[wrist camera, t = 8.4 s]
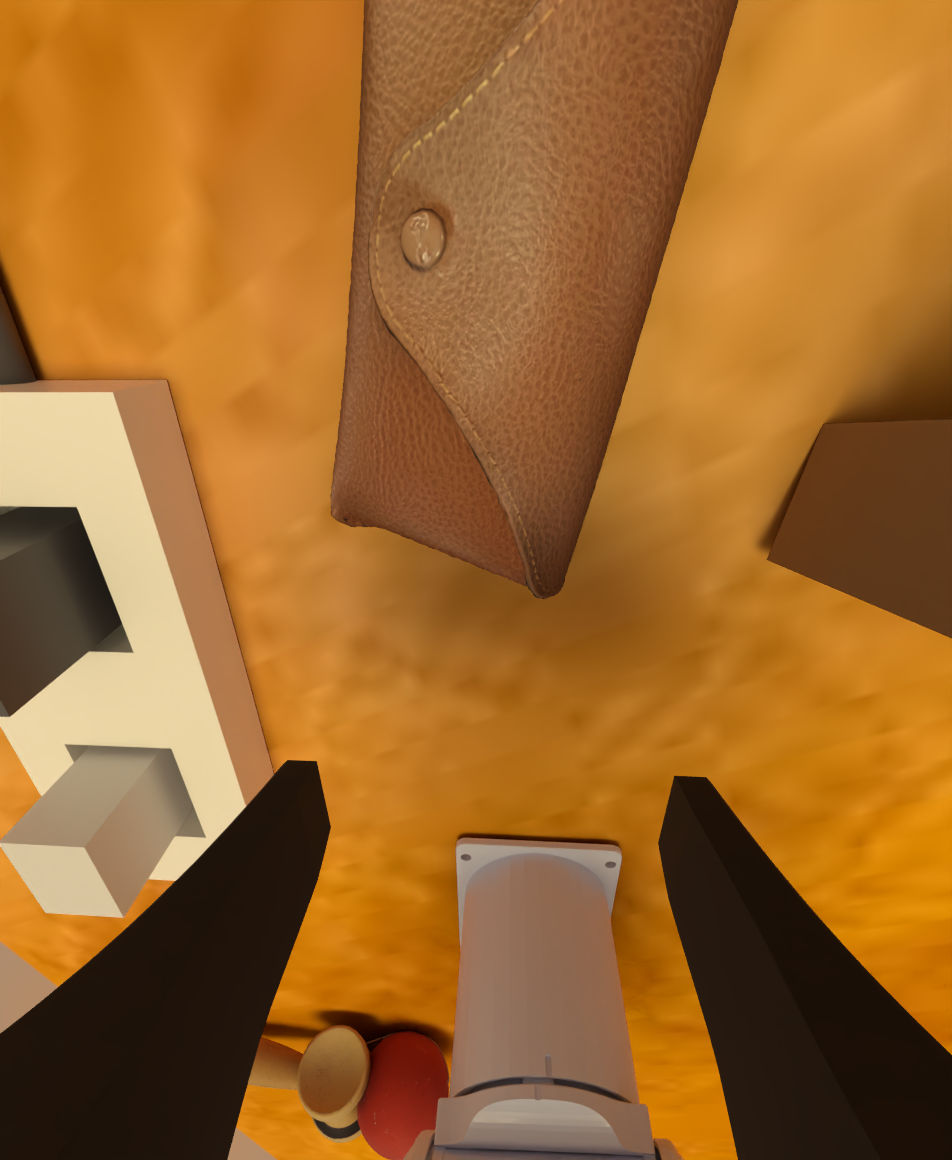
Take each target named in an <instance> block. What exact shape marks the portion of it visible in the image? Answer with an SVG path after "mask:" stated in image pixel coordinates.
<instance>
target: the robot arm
mask: <svg viewBox="0 0 952 1160" xmlns="http://www.w3.org/2000/svg"><path fill="white" fill-rule="evenodd" d="M330 828H331V826H330V821H329V817H328V812H327V807H326V803H325V798H324V793H323V789H322V784H321V779H320V775H319V770H318V765H317V761H295V760H287V761H286V762H285V763H284V764H283V765H282V766H281V767H280V768H279V770H278V771H277V772H276V773H275V774H274V775H273V776H272V778H271V779H270V780H269V781H268V782H267V783H266V784H265V786H264V787H263V788H262V789H261V790H260V791H259V792H258V794H257V795H256V796H255V797H254V798H253V799H252V800H251V801H250V803H249V804H248V805H247V806H246V807H245V808H244V809H243V810H242V811H241V813H240V814H239V815H238V816H237V817H236V818H235V819H234V820H233V821H232V823H231V824H230V825H229V826H228V827H227V828H226V829H225V830H224V831H223V832H222V833H221V834H220V835H219V837H218V838H217V839H216V840H215V841H214V842H213V843H212V844H211V845H210V846H209V847H208V848H207V849H206V850H205V852H204V853H203V854H202V855H201V856H200V857H199V858H198V859H197V860H196V861H195V862H194V863H193V864H192V865H191V866H190V867H189V868H188V869H187V870H186V871H185V872H184V873H183V874H182V875H181V876H180V877H179V878H178V879H177V880H176V881H175V882H174V883H173V884H172V885H171V886H170V887H169V888H168V889H167V890H166V891H165V892H164V893H163V894H162V895H161V896H160V897H159V898H158V899H157V900H156V901H155V902H154V903H153V904H152V905H151V906H150V907H149V908H148V909H146V910H145V911H144V912H143V913H142V914H141V915H140V916H139V917H138V918H137V919H136V920H135V921H134V922H133V923H132V924H130V925H129V926H128V927H127V928H126V929H125V930H124V931H123V932H122V933H121V934H119V935H118V936H117V937H116V938H115V939H114V940H113V941H112V942H110V943H109V944H108V945H107V946H106V947H105V948H104V949H103V950H101V951H100V952H99V953H98V954H97V955H96V956H95V957H94V958H92V959H91V960H90V961H89V962H88V963H87V964H85V965H84V966H83V967H82V968H81V969H79V970H78V971H77V972H76V973H75V974H73V975H72V976H71V977H70V978H69V979H67V980H66V981H65V982H64V983H63V984H61V985H60V986H59V987H58V988H57V989H55V990H54V991H53V992H52V993H51V994H49V996H47V997H46V998H45V999H44V1000H42V1001H41V1002H40V1003H39V1004H37V1005H36V1006H35V1007H34V1008H32V1009H31V1010H30V1011H29V1012H27V1013H26V1014H25V1015H24V1016H22V1017H21V1018H20V1019H18V1020H17V1021H16V1022H15V1023H13V1024H12V1025H11V1026H10V1027H8V1028H7V1029H6V1030H4V1031H3V1032H2V1033H0V1160H227V1158H228V1155H229V1151H230V1147H231V1143H232V1139H233V1136H234V1132H235V1128H236V1125H237V1121H238V1117H239V1113H240V1110H241V1106H242V1102H243V1099H244V1095H245V1092H246V1088H247V1085H248V1081H249V1078H250V1074H251V1071H252V1067H253V1063H254V1060H255V1056H256V1053H257V1049H258V1046H259V1042H260V1039H261V1035H262V1032H263V1029H264V1026H265V1023H266V1020H267V1017H268V1014H269V1011H270V1008H271V1005H272V1003H273V1000H274V997H275V995H276V992H277V989H278V987H279V984H280V981H281V978H282V976H283V973H284V970H285V968H286V965H287V962H288V960H289V957H290V954H291V951H292V949H293V946H294V943H295V941H296V938H297V935H298V933H299V930H300V927H301V924H302V922H303V919H304V916H305V913H306V911H307V908H308V905H309V903H310V900H311V897H312V894H313V891H314V889H315V886H316V883H317V880H318V876H319V873H320V869H321V865H322V861H323V857H324V853H325V849H326V845H327V841H328V837H329V833H330ZM658 844H659V850H660V856H661V861H662V867H663V872H664V877H665V883H666V888H667V893H668V898H669V902H670V905H671V908H672V912H673V915H674V919H675V922H676V926H677V929H678V932H679V936H680V939H681V942H682V946H683V949H684V952H685V956H686V959H687V962H688V966H689V969H690V972H691V976H692V979H693V982H694V986H695V989H696V992H697V996H698V999H699V1002H700V1006H701V1009H702V1012H703V1015H704V1019H705V1022H706V1025H707V1029H708V1032H709V1035H710V1039H711V1043H712V1047H713V1050H714V1054H715V1058H716V1062H717V1065H718V1069H719V1074H720V1078H721V1083H722V1087H723V1092H724V1096H725V1101H726V1106H727V1110H728V1115H729V1119H730V1124H731V1128H732V1133H733V1138H734V1142H735V1147H736V1152H737V1157H738V1160H952V1055H951V1054H950V1053H949V1052H948V1051H947V1050H946V1049H945V1048H944V1047H943V1046H942V1045H941V1044H940V1043H939V1042H938V1041H937V1040H936V1039H935V1038H934V1037H933V1036H932V1035H930V1034H929V1033H928V1032H927V1031H926V1030H925V1029H924V1028H923V1027H922V1026H921V1025H920V1024H919V1023H918V1022H917V1021H916V1020H915V1019H914V1018H913V1017H912V1016H911V1015H910V1014H909V1013H908V1012H907V1011H906V1010H905V1009H904V1008H903V1007H902V1006H901V1005H900V1004H899V1003H898V1002H897V1001H896V1000H895V999H894V998H893V997H892V996H891V995H890V994H889V993H888V992H887V991H886V990H885V989H884V988H883V987H882V986H881V985H880V983H879V982H878V981H877V980H876V979H875V978H874V977H873V976H872V975H871V974H870V973H869V972H868V971H867V970H866V969H865V968H864V967H863V966H862V964H861V963H860V962H859V961H858V960H857V959H856V958H855V957H854V956H853V955H852V954H851V953H850V952H849V950H848V949H847V948H846V947H845V946H844V945H843V944H842V943H841V942H840V940H839V939H838V938H837V937H836V936H835V935H834V934H833V933H832V932H831V930H830V929H829V928H828V927H827V926H826V925H825V924H824V923H823V921H822V920H821V919H820V918H819V917H818V916H817V915H816V914H815V912H814V911H813V910H812V909H811V908H810V907H809V905H808V904H807V903H806V902H805V901H804V900H803V898H802V897H801V896H800V895H799V894H798V892H797V891H796V890H795V889H794V888H793V886H792V885H791V884H790V883H789V882H788V880H787V879H786V878H785V877H784V876H783V874H782V873H781V872H780V871H779V870H778V868H777V867H776V866H775V865H774V863H773V862H772V861H771V860H770V859H769V857H768V856H767V855H766V854H765V852H764V851H763V850H762V849H761V847H760V846H759V845H758V843H757V842H756V841H755V840H754V838H753V837H752V836H751V834H750V833H749V832H748V831H747V829H746V828H745V827H744V826H743V824H742V823H741V822H740V820H739V819H738V818H737V816H736V815H735V814H734V812H733V811H732V810H731V808H730V807H729V806H728V804H727V803H726V802H725V800H724V799H723V798H722V796H721V795H720V794H719V792H718V791H717V790H716V788H715V787H714V786H713V784H712V783H711V782H710V781H709V780H708V779H707V778H706V777H687V776H674V780H673V784H672V788H671V792H670V796H669V800H668V805H667V809H666V813H665V817H664V821H663V826H662V830H661V834H660V838H659V842H658ZM621 862H622V853H621V849H620V848H619V847H617V846H615V845H608V844H588V843H567V842H547V841H526V840H505V839H485V838H461V839H459V840H458V841H457V843H456V867H457V889H458V912H459V934H460V947H461V953H460V966H459V979H458V991H457V1004H456V1017H455V1029H454V1042H453V1055H452V1068H451V1080H450V1093H449V1098H439V1100H438V1107H437V1118H436V1129H435V1130H424V1131H421V1133H420V1134H419V1135H418V1137H417V1138H416V1140H415V1142H414V1144H413V1146H412V1147H411V1148H410V1150H409V1151H408V1152H407V1154H406V1155H405V1157H404V1159H403V1160H684V1159H683V1158H682V1156H681V1155H680V1154H679V1153H678V1152H677V1150H676V1148H675V1146H674V1144H673V1143H672V1142H671V1141H670V1140H667V1139H656V1138H654V1140H653V1138H652V1132H651V1126H650V1120H649V1114H648V1108H647V1106H646V1105H645V1104H640V1103H639V1097H638V1091H637V1084H636V1078H635V1072H634V1065H633V1059H632V1053H631V1046H630V1040H629V1034H628V1028H627V1021H626V1015H625V1009H624V1002H623V996H622V990H621V984H620V977H619V971H618V965H617V958H616V952H615V946H614V940H613V933H612V927H611V921H610V919H611V913H612V908H613V903H614V898H615V893H616V888H617V882H618V877H619V872H620V867H621Z"/></svg>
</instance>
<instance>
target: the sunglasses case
mask: <svg viewBox="0 0 952 1160" xmlns="http://www.w3.org/2000/svg"><path fill="white" fill-rule="evenodd" d="M737 3H738V0H365V2H364V31H363V54H362V80H361V103H360V130H359V144H358V164H357V182H356V198H355V205H356V206H355V222H354V233H353V252H352V270H351V285H350V293H349V314H348V329H347V345H346V360H345V371H344V383H343V393H342V401H341V411H340V422H339V429H338V441H337V446H336V454H335V464H334V470H333V482H332V492H331V515H332V516H333V517H334V518H335V519H336V520H337V521H339V522H341V523H343V524H346V525H349V526H351V527H357V526H362V527H373V526H375V527H378V528H383V529H386V530H389V531H391V532H393V533H397V534H399V535H401V536H403V537H406V538H408V539H412V540H414V541H416V542H418V543H420V544H423V545H426V546H428V547H430V548H432V549H437V550H439V551H441V552H444V553H446V554H448V555H450V556H452V557H455V558H459V559H461V560H463V561H465V562H469V563H471V564H473V565H476V566H477V567H479V568H482V569H485V570H487V571H490V572H491V573H493V574H497V575H500V576H503V577H506V578H508V579H509V580H513V581H515V582H517V583H519V584H522V585H524V586H528V588H529V590H531V592H532V593H533V595H534V596H535V597H536V598H542V599H545V598H549V597H551V596H554V595H556V594H557V593H559V591H560V590H561V588H562V587H563V584H564V581H565V575H566V573H567V569H568V566H569V563H570V561H571V558H572V554H573V551H574V548H575V546H576V543H577V539H578V536H579V533H580V530H581V528H582V524H583V521H584V518H585V515H586V512H587V509H588V507H589V503H590V500H591V497H592V494H593V491H594V489H595V485H596V481H597V479H598V474H599V472H600V469H601V466H602V462H603V458H604V456H605V453H606V449H607V446H608V442H609V439H610V436H611V433H612V429H613V426H614V423H615V420H616V416H617V412H618V409H619V407H620V404H621V399H622V395H623V392H624V389H625V385H626V383H627V380H628V375H629V372H630V369H631V365H632V362H633V359H634V355H635V352H636V348H637V344H638V341H639V337H640V334H641V331H642V328H643V324H644V321H645V318H646V314H647V311H648V308H649V305H650V302H651V298H652V293H653V290H654V287H655V284H656V281H657V277H658V273H659V270H660V266H661V263H662V260H663V256H664V253H665V250H666V247H667V244H668V241H669V238H670V233H671V230H672V227H673V224H674V221H675V217H676V213H677V210H678V206H679V204H680V200H681V197H682V194H683V190H684V186H685V183H686V180H687V177H688V172H689V168H690V165H691V162H692V159H693V156H694V153H695V149H696V146H697V142H698V139H699V136H700V132H701V129H702V125H703V122H704V119H705V116H706V112H707V108H708V105H709V101H710V98H711V94H712V90H713V87H714V84H715V81H716V77H717V74H718V71H719V68H720V65H721V61H722V57H723V52H724V49H725V45H726V42H727V39H728V35H729V31H730V28H731V25H732V21H733V17H734V14H735V11H736V8H737Z"/></svg>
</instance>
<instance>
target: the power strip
mask: <svg viewBox="0 0 952 1160" xmlns="http://www.w3.org/2000/svg"><path fill="white" fill-rule="evenodd" d="M0 726H1V728H2V730H3V731H4V733H5V735H6V737H7V738H8V740H9V742H10V743H11V745H12V747H13V749H14V750H15V752H16V754H17V755H18V757H19V759H20V760H21V762H22V764H23V766H24V767H25V769H26V771H27V772H28V774H29V776H30V778H31V779H32V781H33V783H34V784H35V786H36V788H37V789H38V791H39V793H40V795H41V796H43V795H44V794H45V793H46V792H47V791H48V790H49V789H50V787H51V786H52V785H53V784H54V783H55V782H56V781H57V780H58V779H59V778H60V777H61V776H62V775H63V774H64V773H65V772H66V771H67V770H68V768H69V767H70V766H71V765H72V764H73V763H74V762H75V761H76V760H77V759H78V758H79V757H80V756H81V755H82V754H83V753H84V752H85V751H86V750H87V748H88V747H89V746H90V745H96V746H121V747H146V748H171V749H172V752H173V754H174V757H175V760H176V762H177V765H178V767H179V770H180V772H181V775H182V777H183V780H184V783H185V785H186V788H187V790H188V793H189V795H190V798H191V801H192V803H193V806H194V807H193V808H192V810H191V812H190V813H189V815H188V816H187V818H186V819H185V821H184V823H183V824H182V826H181V827H180V829H179V831H178V832H177V834H176V835H175V837H174V839H173V840H172V842H171V843H170V845H169V846H168V848H167V850H166V851H165V853H164V854H163V856H162V858H161V859H160V861H159V862H158V864H157V866H156V867H155V869H154V870H153V872H152V874H151V875H150V877H149V878H148V879H155V880H174V881H176V880H177V879H178V878H179V877H180V876H181V875H182V874H183V873H184V872H185V871H186V870H187V869H188V868H189V867H190V866H191V865H192V864H193V863H194V862H195V861H196V860H197V859H198V858H199V857H200V856H201V855H202V854H203V853H204V852H205V850H206V849H207V848H208V847H209V846H210V845H211V844H212V843H213V842H214V841H215V840H216V839H217V838H218V837H219V835H220V834H221V833H222V832H223V831H224V830H225V829H226V828H227V827H228V826H229V825H230V824H231V823H232V821H233V820H234V819H235V818H236V817H237V816H238V815H239V814H240V813H241V811H242V810H243V809H244V808H245V807H246V806H247V805H248V804H249V803H250V801H251V800H252V799H253V798H254V797H255V796H256V795H257V794H258V792H259V791H260V790H261V789H262V788H263V787H264V786H265V784H266V783H267V782H268V781H269V780H270V779H271V778H272V776H273V775H274V772H273V768H272V765H271V761H270V757H269V754H268V750H267V746H266V743H265V739H264V735H263V732H262V728H261V724H260V721H259V717H258V713H257V710H256V706H255V702H254V699H253V695H252V691H251V688H250V684H249V680H248V677H247V673H246V669H245V666H244V662H243V658H242V655H241V651H240V647H239V644H238V640H237V636H236V633H235V629H234V625H233V622H232V618H231V614H230V611H229V607H228V603H227V600H226V596H225V592H224V589H223V585H222V581H221V577H220V574H219V570H218V566H217V563H216V559H215V555H214V552H213V548H212V544H211V541H210V537H209V533H208V530H207V526H206V522H205V519H204V515H203V511H202V508H201V504H200V500H199V497H198V493H197V489H196V486H195V482H194V478H193V475H192V471H191V467H190V464H189V460H188V456H187V453H186V449H185V445H184V442H183V438H182V434H181V431H180V427H179V423H178V420H177V416H176V412H175V409H174V405H173V401H172V398H171V394H170V390H169V386H168V383H167V380H36V377H35V375H34V372H33V370H32V367H31V364H30V362H29V359H28V356H27V354H26V351H25V349H24V346H23V343H22V341H21V338H20V336H19V333H18V330H17V328H16V325H15V323H14V320H13V317H12V315H11V312H10V309H9V307H8V304H7V302H6V299H5V296H4V294H3V291H2V289H1V286H0Z"/></svg>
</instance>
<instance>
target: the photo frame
mask: <svg viewBox="0 0 952 1160" xmlns="http://www.w3.org/2000/svg"><path fill="white" fill-rule="evenodd" d="M767 560H769V561H771V562H773V563H776V564H778V565H780V566H783V567H785V568H787V569H790V570H792V571H794V572H797V573H799V574H801V575H804V576H806V577H809V578H811V579H813V580H816V581H818V582H820V583H823V584H825V585H827V586H830V587H832V588H834V589H837V590H839V591H842V592H844V593H846V594H849V595H851V596H853V597H856V598H858V599H860V600H863V601H865V602H867V603H870V604H872V605H875V606H877V607H879V608H882V609H884V610H886V611H889V612H891V613H893V614H896V615H898V616H900V617H903V618H905V619H907V620H910V621H912V622H915V623H917V624H919V625H922V626H924V627H926V628H929V629H931V630H933V631H936V632H938V633H940V634H943V635H945V636H948V637H950V638H952V419H938V420H912V421H885V422H859V423H832V424H823V426H822V428H821V431H820V433H819V436H818V438H817V440H816V443H815V445H814V448H813V450H812V452H811V455H810V457H809V460H808V462H807V464H806V467H805V469H804V472H803V474H802V476H801V479H800V481H799V484H798V486H797V488H796V491H795V493H794V495H793V498H792V500H791V503H790V505H789V507H788V510H787V512H786V515H785V517H784V519H783V522H782V524H781V527H780V529H779V531H778V534H777V536H776V539H775V541H774V543H773V546H772V548H771V550H770V553H769V555H768V558H767Z"/></svg>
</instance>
